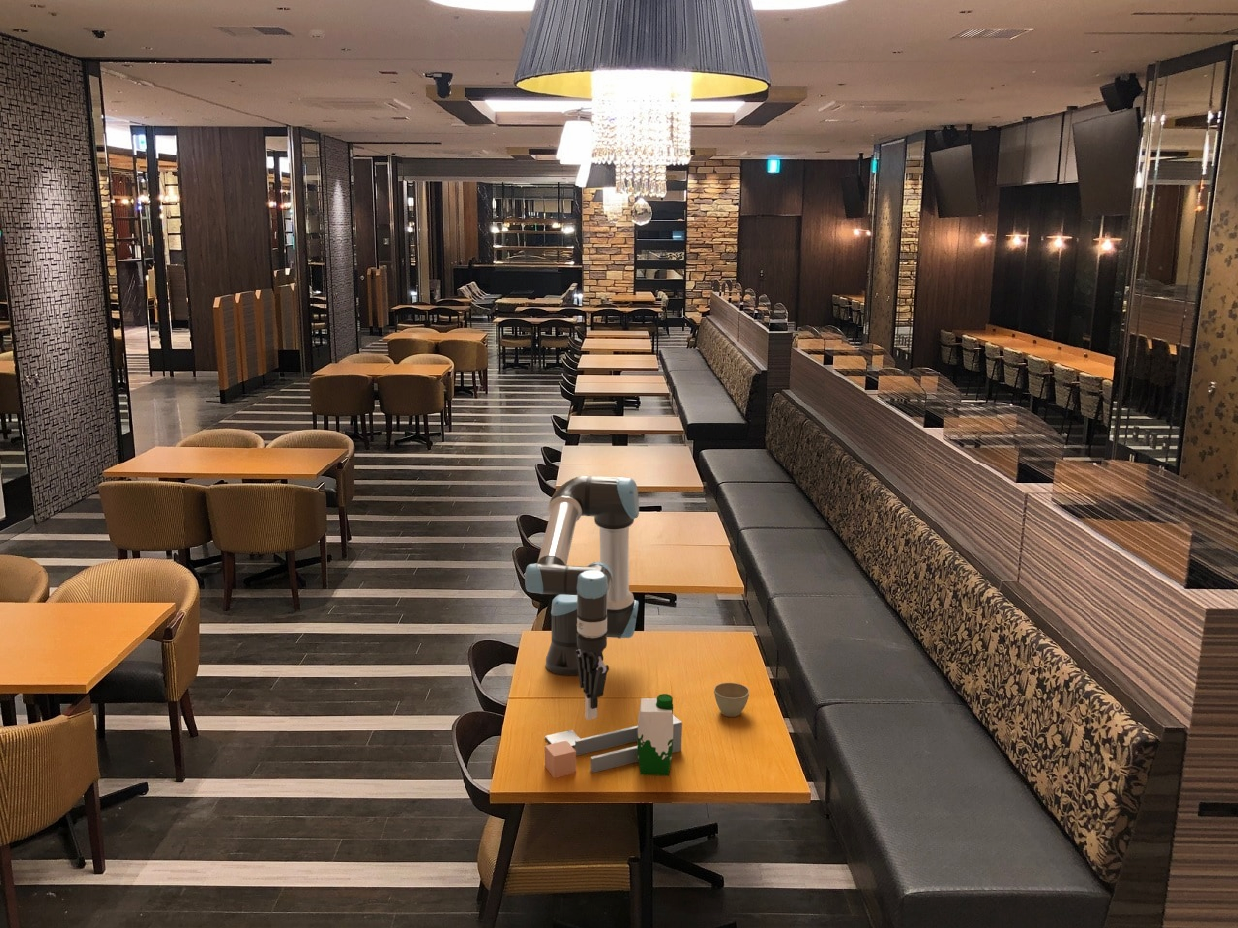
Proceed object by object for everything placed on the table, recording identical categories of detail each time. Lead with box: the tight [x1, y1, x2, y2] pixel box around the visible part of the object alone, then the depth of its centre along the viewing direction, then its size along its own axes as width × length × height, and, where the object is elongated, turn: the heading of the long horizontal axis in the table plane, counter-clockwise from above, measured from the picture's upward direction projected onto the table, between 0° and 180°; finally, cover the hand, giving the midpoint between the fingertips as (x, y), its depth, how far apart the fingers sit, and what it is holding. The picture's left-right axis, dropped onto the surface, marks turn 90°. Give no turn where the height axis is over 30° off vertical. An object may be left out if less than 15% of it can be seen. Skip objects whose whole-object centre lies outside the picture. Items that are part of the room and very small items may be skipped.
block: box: [544, 741, 577, 779], centre depth 266 cm, size 6×6×6 cm
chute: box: [574, 714, 683, 774], centre depth 274 cm, size 10×26×8 cm, turn 117°
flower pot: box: [713, 682, 750, 718], centre depth 296 cm, size 10×10×7 cm
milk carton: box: [636, 693, 674, 776], centre depth 266 cm, size 9×9×20 cm
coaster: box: [544, 729, 581, 749], centre depth 280 cm, size 8×8×1 cm
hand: (591, 717), depth 267 cm, fingers closed
